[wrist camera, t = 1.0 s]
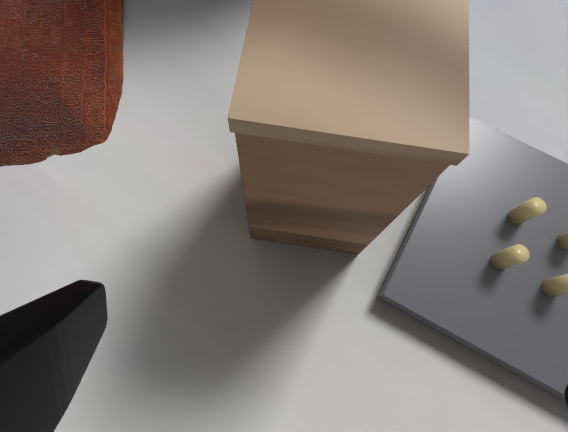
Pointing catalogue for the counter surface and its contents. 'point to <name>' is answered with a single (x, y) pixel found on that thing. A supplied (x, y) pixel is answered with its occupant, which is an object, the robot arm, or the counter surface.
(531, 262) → the flat gray plate
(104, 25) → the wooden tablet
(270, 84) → the tan square box
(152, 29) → the counter surface
